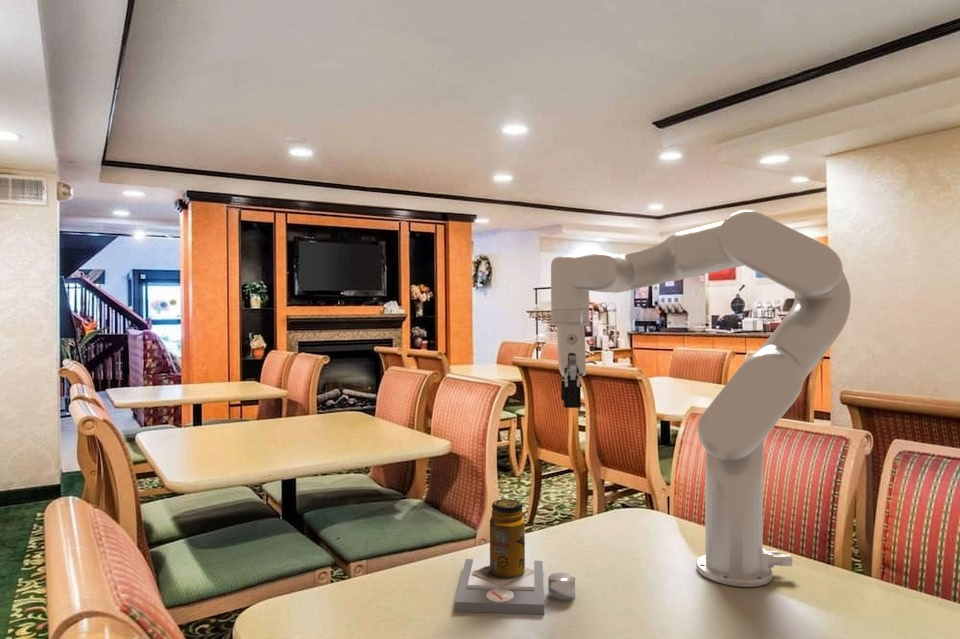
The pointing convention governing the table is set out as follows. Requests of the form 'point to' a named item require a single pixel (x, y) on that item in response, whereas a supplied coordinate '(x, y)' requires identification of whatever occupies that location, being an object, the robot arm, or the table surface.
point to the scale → (500, 591)
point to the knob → (561, 587)
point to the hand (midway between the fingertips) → (570, 403)
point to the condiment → (506, 544)
